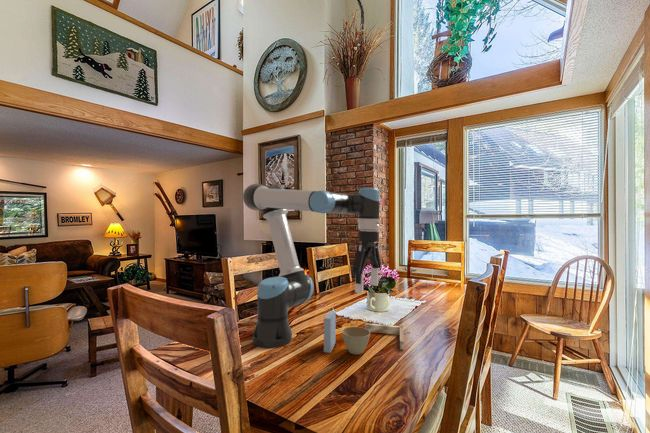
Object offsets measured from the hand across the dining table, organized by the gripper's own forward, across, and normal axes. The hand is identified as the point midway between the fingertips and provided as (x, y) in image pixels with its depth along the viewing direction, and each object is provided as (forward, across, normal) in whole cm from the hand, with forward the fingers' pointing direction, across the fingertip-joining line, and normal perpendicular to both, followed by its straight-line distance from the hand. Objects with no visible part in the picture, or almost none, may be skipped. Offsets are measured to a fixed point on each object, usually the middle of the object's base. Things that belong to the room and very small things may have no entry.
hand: (367, 288), depth 108 cm
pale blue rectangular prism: (+22, -6, +12) cm, 26 cm away
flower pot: (+22, -4, +2) cm, 23 cm away
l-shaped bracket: (+22, +12, -2) cm, 25 cm away
